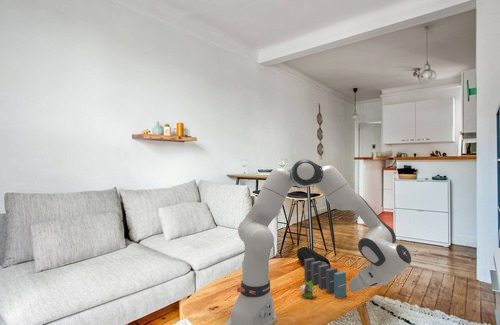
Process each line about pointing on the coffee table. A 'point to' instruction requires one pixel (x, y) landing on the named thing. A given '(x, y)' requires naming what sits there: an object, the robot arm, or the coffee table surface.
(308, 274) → the domino
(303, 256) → the portable speaker
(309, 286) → the geometric puzzle
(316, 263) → the domino
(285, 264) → the coffee table surface
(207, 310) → the coffee table surface
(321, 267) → the domino
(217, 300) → the coffee table surface
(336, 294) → the domino
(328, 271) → the domino
